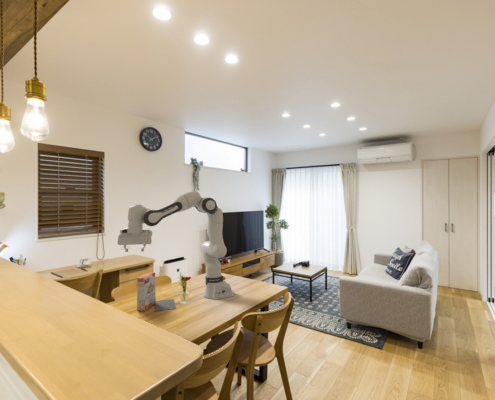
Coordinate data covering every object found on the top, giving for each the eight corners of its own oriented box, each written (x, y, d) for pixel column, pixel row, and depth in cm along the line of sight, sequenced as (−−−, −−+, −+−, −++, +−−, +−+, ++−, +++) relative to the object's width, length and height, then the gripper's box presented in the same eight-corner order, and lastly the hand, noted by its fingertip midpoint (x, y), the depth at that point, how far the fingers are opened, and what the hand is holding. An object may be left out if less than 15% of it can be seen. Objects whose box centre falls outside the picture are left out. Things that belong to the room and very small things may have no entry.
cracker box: (145, 311, 174) (144, 278, 174) (136, 311, 175) (135, 277, 175) (156, 303, 188) (155, 271, 188) (148, 302, 189) (147, 271, 189)
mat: (173, 299, 196) (173, 298, 196) (176, 308, 179) (176, 308, 179) (154, 301, 191) (154, 301, 191) (154, 311, 174) (154, 311, 174)
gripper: (152, 229, 186) (151, 250, 186) (118, 229, 179) (118, 251, 179) (152, 230, 180) (151, 251, 180) (117, 230, 173) (116, 253, 173)
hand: (134, 251), depth 179 cm, fingers open, 8 cm apart
